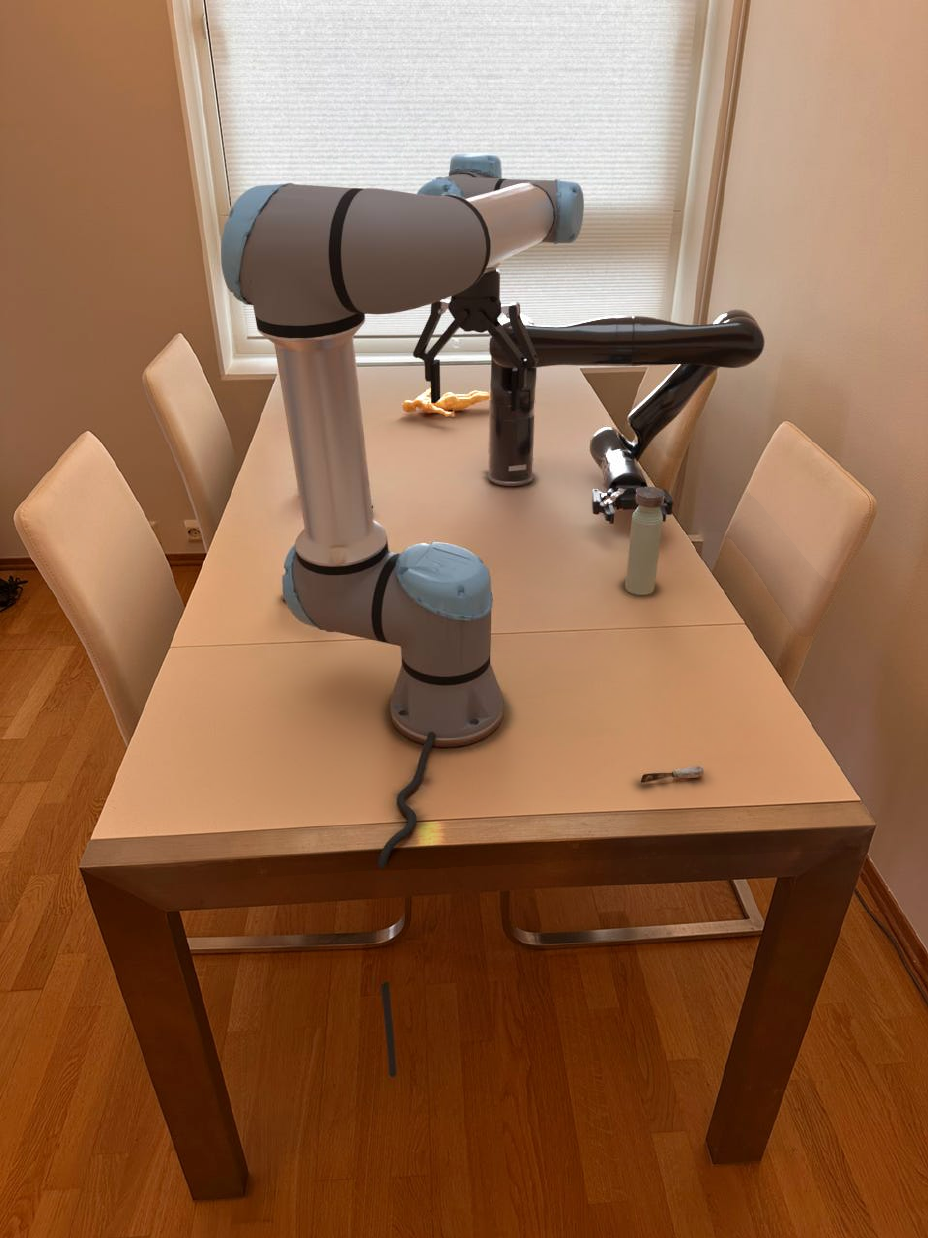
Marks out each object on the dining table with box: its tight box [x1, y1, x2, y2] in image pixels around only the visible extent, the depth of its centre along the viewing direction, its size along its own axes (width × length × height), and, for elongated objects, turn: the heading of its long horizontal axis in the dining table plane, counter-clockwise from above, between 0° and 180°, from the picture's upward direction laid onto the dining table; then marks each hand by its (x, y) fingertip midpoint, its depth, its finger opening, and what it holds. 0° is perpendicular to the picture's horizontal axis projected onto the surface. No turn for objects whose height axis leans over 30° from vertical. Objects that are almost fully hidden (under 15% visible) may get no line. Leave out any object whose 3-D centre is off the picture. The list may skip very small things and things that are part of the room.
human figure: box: [402, 384, 490, 418], centre depth 225 cm, size 20×20×4 cm
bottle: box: [624, 505, 664, 596], centre depth 145 cm, size 5×5×17 cm
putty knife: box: [640, 765, 705, 784], centre depth 109 cm, size 1×8×2 cm, turn 103°
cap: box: [636, 486, 665, 508], centre depth 141 cm, size 4×4×2 cm
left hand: (474, 404), depth 147 cm, fingers open, 13 cm apart
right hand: (636, 519), depth 156 cm, fingers open, 8 cm apart
